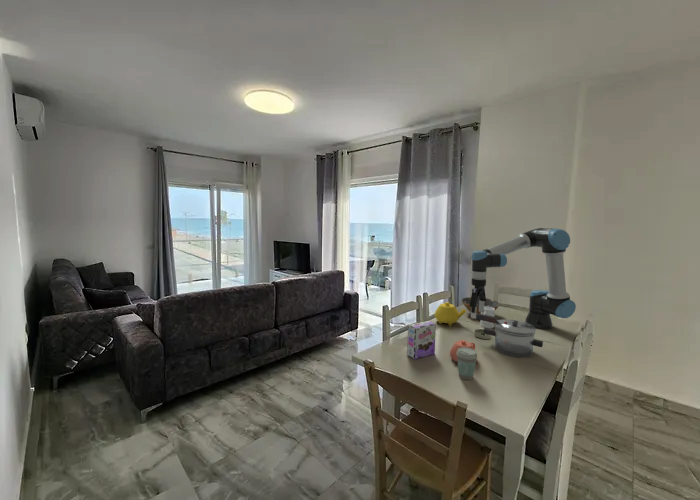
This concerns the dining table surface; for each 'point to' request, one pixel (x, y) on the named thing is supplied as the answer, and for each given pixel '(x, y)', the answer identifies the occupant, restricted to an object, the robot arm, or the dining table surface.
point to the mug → (490, 312)
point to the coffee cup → (466, 362)
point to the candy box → (421, 339)
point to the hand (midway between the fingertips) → (477, 314)
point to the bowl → (486, 303)
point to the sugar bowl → (459, 345)
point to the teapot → (448, 313)
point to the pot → (514, 343)
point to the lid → (508, 324)
